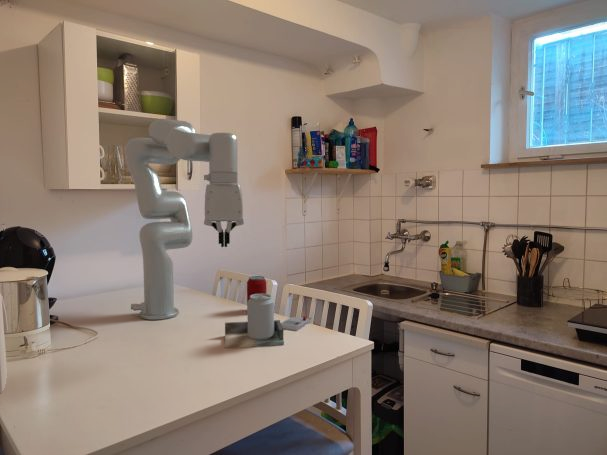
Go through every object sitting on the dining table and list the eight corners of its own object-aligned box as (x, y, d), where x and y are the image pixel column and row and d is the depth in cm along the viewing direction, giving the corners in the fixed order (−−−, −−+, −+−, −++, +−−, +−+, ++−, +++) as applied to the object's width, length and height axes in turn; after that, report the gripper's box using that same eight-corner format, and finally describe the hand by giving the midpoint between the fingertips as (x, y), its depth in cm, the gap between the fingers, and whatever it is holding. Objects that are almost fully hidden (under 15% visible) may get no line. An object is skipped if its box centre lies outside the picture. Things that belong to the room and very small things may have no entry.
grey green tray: (225, 347, 120) (225, 333, 120) (225, 335, 130) (225, 322, 130) (283, 344, 123) (283, 330, 123) (279, 333, 133) (279, 320, 133)
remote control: (274, 332, 136) (274, 322, 136) (297, 318, 150) (297, 309, 150) (293, 335, 133) (293, 325, 133) (315, 321, 147) (315, 312, 147)
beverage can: (267, 308, 160) (267, 275, 159) (264, 313, 153) (264, 279, 152) (249, 308, 161) (249, 275, 160) (245, 313, 154) (245, 279, 153)
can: (251, 342, 122) (251, 299, 121) (244, 334, 129) (244, 293, 127) (277, 339, 124) (277, 297, 123) (269, 331, 131) (269, 291, 130)
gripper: (194, 178, 116) (195, 248, 117) (252, 179, 118) (252, 247, 120) (196, 179, 123) (197, 245, 125) (250, 179, 126) (250, 244, 127)
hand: (224, 246), depth 122 cm, fingers closed
